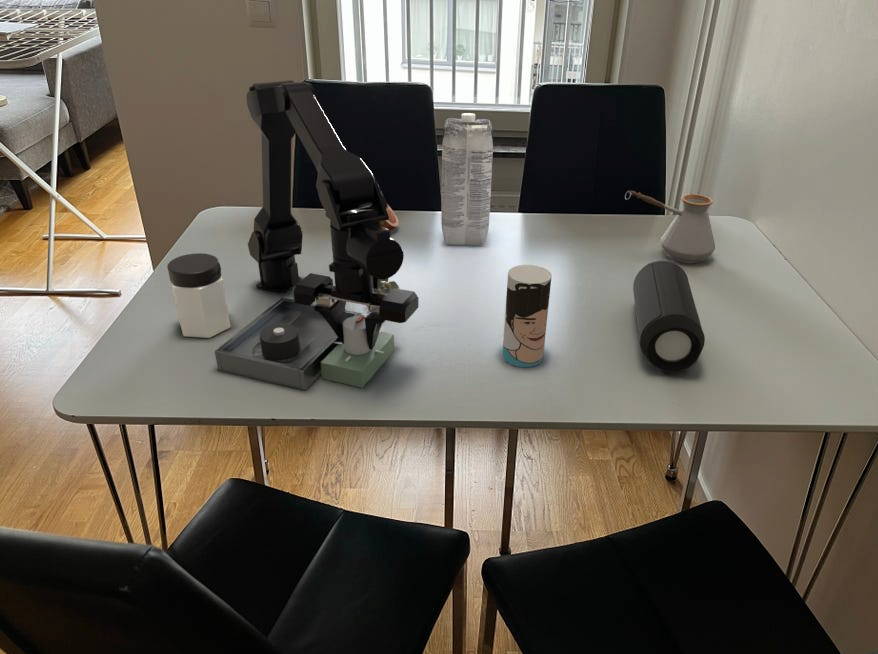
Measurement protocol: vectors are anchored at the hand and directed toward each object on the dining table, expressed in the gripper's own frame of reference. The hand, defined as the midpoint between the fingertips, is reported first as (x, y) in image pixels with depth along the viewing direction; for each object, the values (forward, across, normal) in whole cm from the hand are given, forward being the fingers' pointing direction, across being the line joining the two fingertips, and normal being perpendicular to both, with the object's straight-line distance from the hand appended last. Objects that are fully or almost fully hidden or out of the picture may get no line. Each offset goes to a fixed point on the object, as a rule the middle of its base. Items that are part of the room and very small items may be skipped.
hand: (358, 345), depth 111 cm
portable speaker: (+4, -45, -27) cm, 53 cm away
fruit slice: (+3, +20, -53) cm, 57 cm away
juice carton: (+3, +1, -55) cm, 55 cm away
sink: (+3, +12, 0) cm, 13 cm away
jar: (+3, +30, -1) cm, 30 cm away
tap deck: (+4, 0, 0) cm, 4 cm away
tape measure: (+4, +4, -20) cm, 21 cm away
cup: (+4, -24, -12) cm, 27 cm away
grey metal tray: (+3, +12, 0) cm, 13 cm away
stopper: (+3, +12, +4) cm, 13 cm away
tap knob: (0, 0, 0) cm, 0 cm away
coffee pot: (+4, -42, -63) cm, 76 cm away
